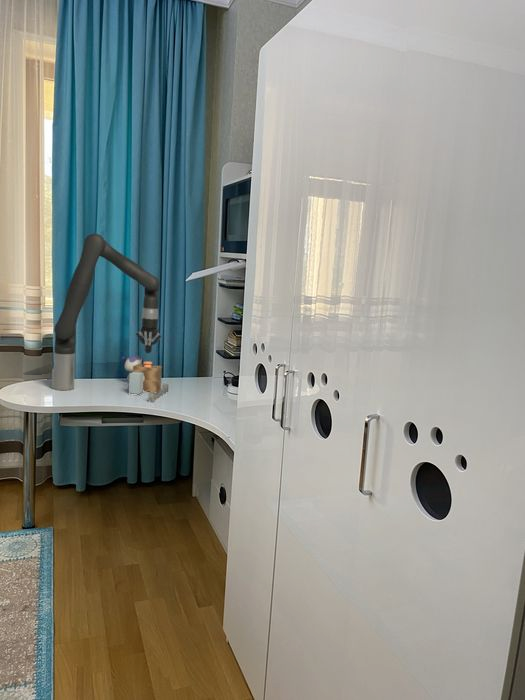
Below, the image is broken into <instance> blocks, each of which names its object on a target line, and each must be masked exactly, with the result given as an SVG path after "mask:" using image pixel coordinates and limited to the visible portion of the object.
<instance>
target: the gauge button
mask: <svg viewBox="0 0 525 700" xmlns="http://www.w3.org/2000/svg"><path fill="white" fill-rule="evenodd" d="M143 361H144V360H143ZM143 364H144V367H150V368H151V365H152V364H153V361H147V360H146V361H144V362H143Z"/></svg>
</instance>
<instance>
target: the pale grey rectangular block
mask: <svg viewBox="0 0 525 700" xmlns="http://www.w3.org/2000/svg"><path fill="white" fill-rule="evenodd" d="M129 373H130V372H129ZM143 374H144V373H140V372H132V373H130V376H129V379H128V393H130V394H137V395H139V396H141V395H142V394H141V393H143V394H144V392H143ZM140 394H141V395H140ZM137 395H136V396H137Z"/></svg>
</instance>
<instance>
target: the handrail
mask: <svg viewBox="0 0 525 700" xmlns="http://www.w3.org/2000/svg"><path fill="white" fill-rule="evenodd" d="M166 392H168V393H169V383H162V387H161V389H160V390H159V391H157V392H156V393H151V392H147V393H148V394H147V395H148V396H147V402H148V401H150V402H149V403H154V402H155V401H157V400H158V399H159V398H161V397H162V396H163V394H164V395H166V394H167V393H166ZM160 396H161V397H160ZM157 398H158V399H157ZM154 400H155V401H154Z"/></svg>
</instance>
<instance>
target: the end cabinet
mask: <svg viewBox="0 0 525 700" xmlns="http://www.w3.org/2000/svg"><path fill="white" fill-rule="evenodd" d="M162 366H163V365H152V364H151V368H150V367H144V364H137V365H135V366H133V372H140V373H144V374H143V390H144V391H150V392H149V393H151V392H157V391H159V390H160V389H162V368H163V367H162Z"/></svg>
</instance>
